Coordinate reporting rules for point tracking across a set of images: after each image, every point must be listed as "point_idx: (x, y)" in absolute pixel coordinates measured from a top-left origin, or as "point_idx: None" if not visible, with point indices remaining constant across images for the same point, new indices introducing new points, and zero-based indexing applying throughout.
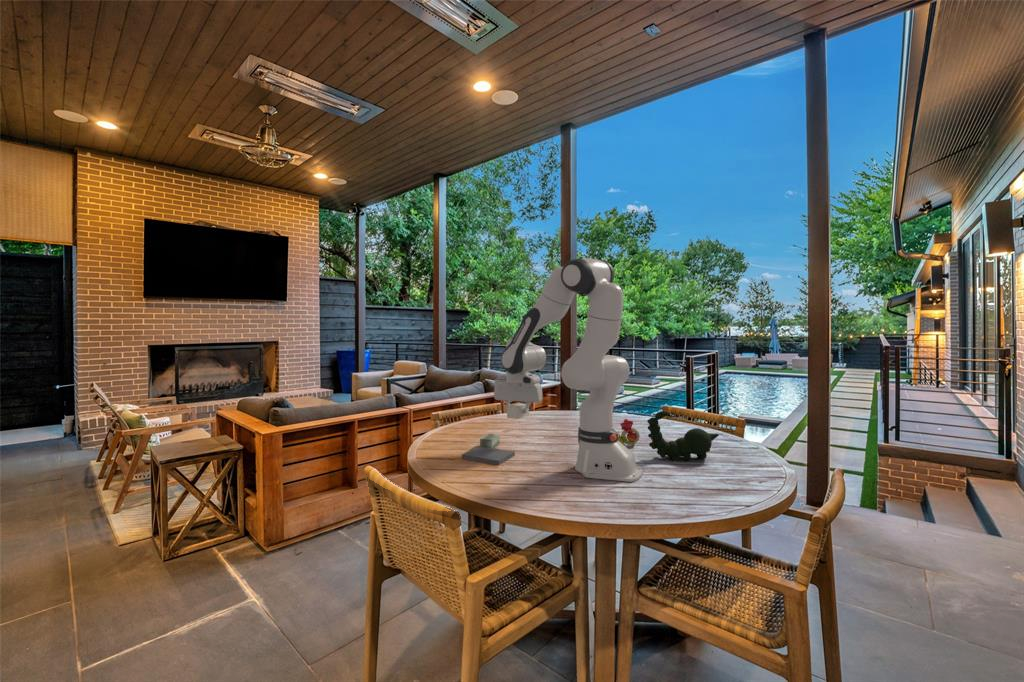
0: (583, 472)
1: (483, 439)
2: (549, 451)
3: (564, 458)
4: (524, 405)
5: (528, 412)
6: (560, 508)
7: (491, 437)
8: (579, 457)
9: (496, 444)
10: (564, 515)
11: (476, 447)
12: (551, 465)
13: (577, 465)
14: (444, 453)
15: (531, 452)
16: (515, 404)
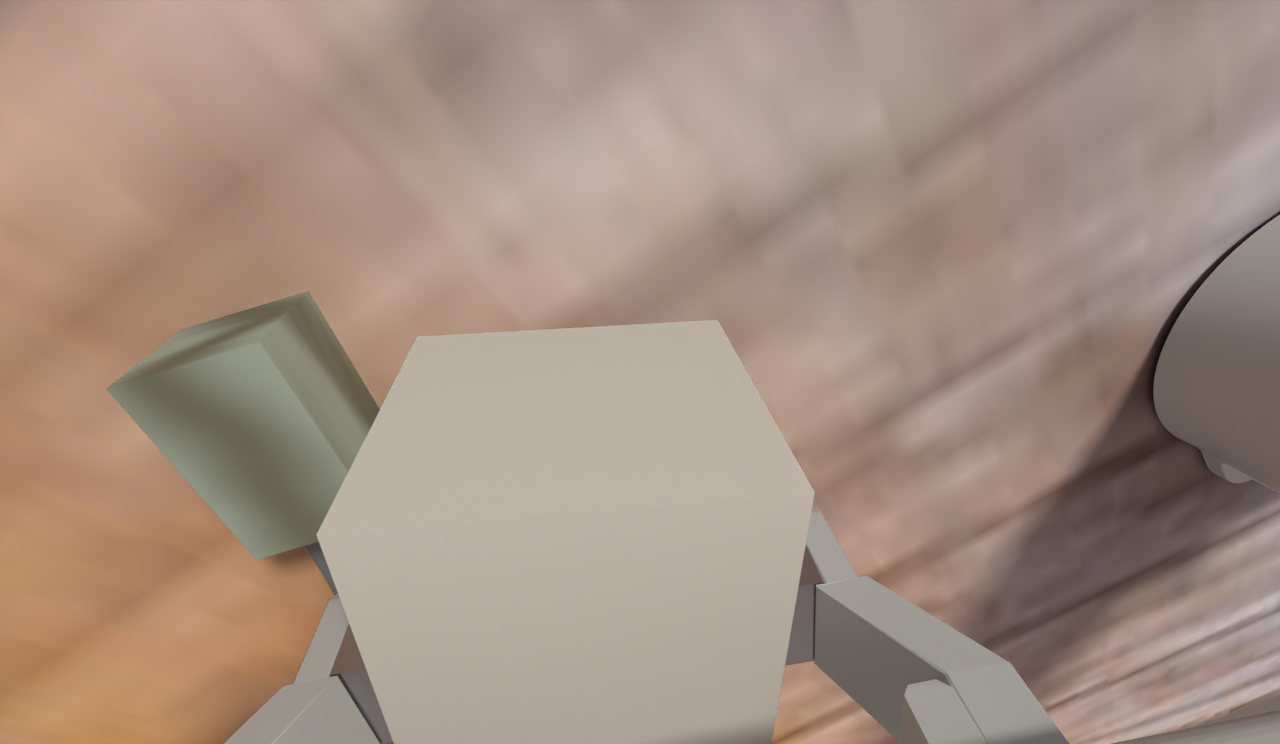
0: (1222, 469)
1: (296, 545)
2: (872, 161)
3: (1049, 257)
4: (781, 668)
5: (733, 368)
6: (1117, 712)
7: (302, 472)
8: (1274, 470)
9: (342, 375)
10: (1135, 729)
11: (314, 555)
12: (987, 433)
13: (1200, 436)
14: (199, 674)
15: (732, 291)
16: (445, 715)
